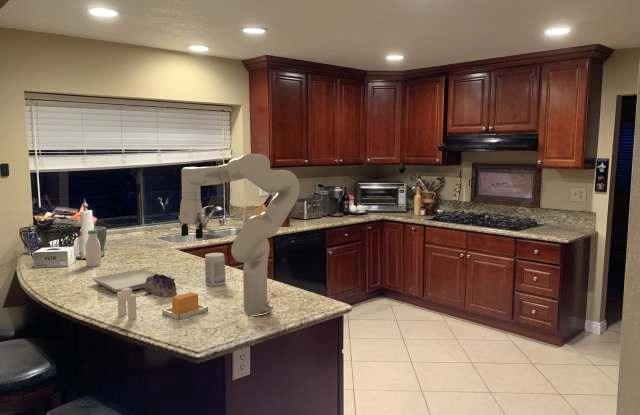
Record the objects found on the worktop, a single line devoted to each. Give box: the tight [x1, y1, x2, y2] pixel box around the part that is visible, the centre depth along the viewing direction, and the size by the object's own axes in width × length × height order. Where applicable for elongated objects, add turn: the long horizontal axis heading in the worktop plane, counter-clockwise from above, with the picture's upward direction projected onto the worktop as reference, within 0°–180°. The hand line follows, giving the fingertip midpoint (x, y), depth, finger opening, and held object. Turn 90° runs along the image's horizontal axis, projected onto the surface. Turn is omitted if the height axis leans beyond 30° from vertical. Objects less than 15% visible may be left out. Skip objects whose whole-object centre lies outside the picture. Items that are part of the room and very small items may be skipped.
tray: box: [161, 303, 209, 321], centre depth 192 cm, size 11×14×2 cm
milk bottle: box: [85, 229, 102, 268], centre depth 275 cm, size 8×8×20 cm
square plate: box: [91, 269, 161, 293], centre depth 237 cm, size 27×27×4 cm
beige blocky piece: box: [116, 288, 138, 321], centre depth 186 cm, size 8×3×11 cm, turn 51°
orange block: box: [171, 291, 199, 315], centre depth 191 cm, size 4×9×6 cm, turn 142°
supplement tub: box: [204, 252, 226, 287], centre depth 238 cm, size 10×10×15 cm
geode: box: [144, 273, 177, 298], centre depth 220 cm, size 20×12×10 cm, turn 43°
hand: (192, 236), depth 207 cm, fingers open, 9 cm apart
